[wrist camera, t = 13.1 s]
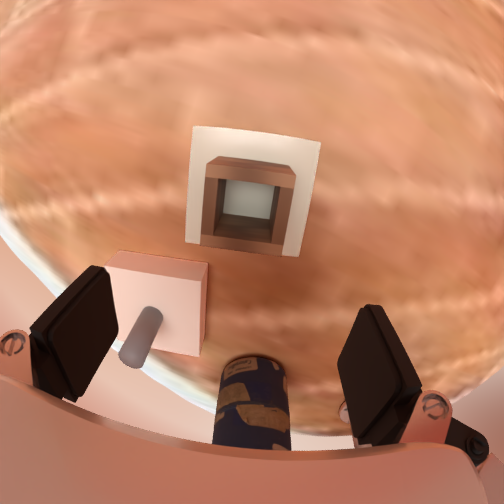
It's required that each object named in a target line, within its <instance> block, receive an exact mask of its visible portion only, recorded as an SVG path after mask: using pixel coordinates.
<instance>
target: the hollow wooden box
mask: <svg viewBox="0 0 504 504" xmlns="http://www.w3.org/2000/svg"><path fill="white" fill-rule="evenodd" d="M227 179H228V180H237V181H244V182H252V183H259V184H266V185H273V186H275V187H274V194H273V200H272V206H271V212H270V218H269V219H263V218H256V217H249V216H241V215H234V214H226V213H223V208H224V199H225V189H226V181H227ZM295 181H296V174H295V173H294V172H293V170H292V169H291V168H290V166H289V165H284V164H278V163H271V162H264V161H257V160H250V159H242V158H234V157H225V156H218V157H216V158H215V159H213V160H211V161H210V162H208V163H207V164H206V172H205V183H204V194H203V206H202V220H201V235H200V246H206V247H213V248H221V249H228V250H235V251H243V252H250V253H258V254H265V255H272V256H280V257H281V256H282V251H283V245H284V240H285V235H286V230H287V225H288V219H289V214H290V209H291V203H292V198H293V192H294V187H295Z"/></svg>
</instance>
